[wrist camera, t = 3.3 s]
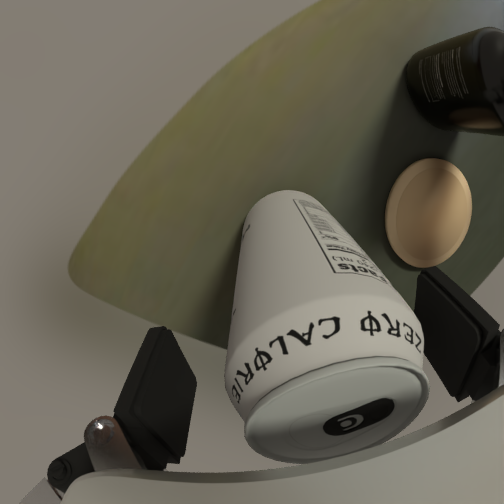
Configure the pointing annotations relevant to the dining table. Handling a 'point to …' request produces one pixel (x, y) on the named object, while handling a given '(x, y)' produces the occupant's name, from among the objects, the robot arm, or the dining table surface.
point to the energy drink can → (318, 338)
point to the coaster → (428, 212)
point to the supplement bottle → (461, 82)
